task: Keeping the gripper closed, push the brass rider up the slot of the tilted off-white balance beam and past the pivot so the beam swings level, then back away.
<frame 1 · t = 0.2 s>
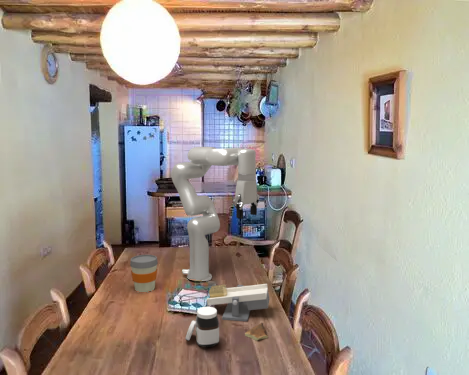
hand: (246, 216, 173), 37 cm above the table, tool pointing down, fingers open, 9 cm apart
balance stand: (237, 311, 163), on the table
shard: (255, 334, 145), on the table
beam: (238, 298, 162), point 5 cm above the table, hinge at -10.2°, touching rider
spread jar: (201, 342, 139), on the table
reusable coffee cup: (144, 289, 186), on the table
rider: (219, 296, 164), point 6 cm above the table, tilted 10°, touching beam
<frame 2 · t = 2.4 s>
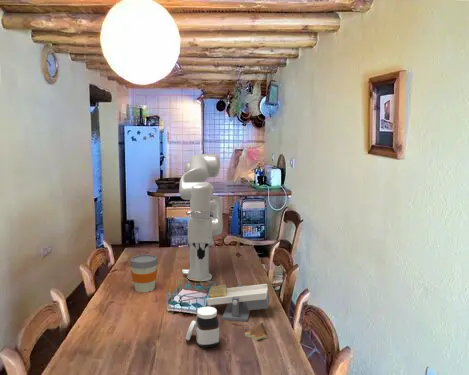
hand: (201, 258, 162), 22 cm above the table, tool pointing down, fingers closed
nothing on the table moved.
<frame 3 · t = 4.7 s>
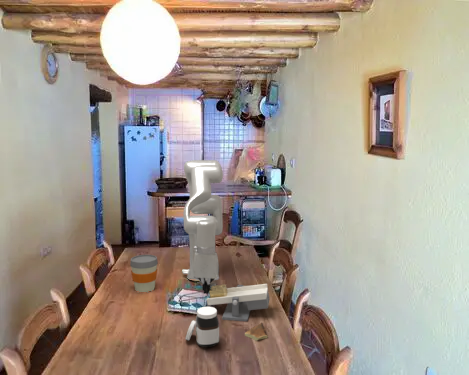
hand: (206, 292, 164), 7 cm above the table, tool pointing down, fingers closed
beam: (238, 298, 162), point 5 cm above the table, hinge at -10.2°
rider: (219, 296, 164), point 6 cm above the table, tilted 10°, touching gripper
everything else where it was.
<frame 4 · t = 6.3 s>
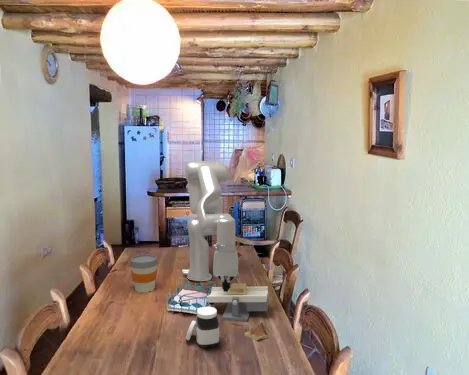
hand: (226, 290, 162), 9 cm above the table, tool pointing down, fingers closed
beam: (238, 298, 162), point 5 cm above the table, hinge at -4.5°
rider: (238, 295, 162), point 7 cm above the table, touching gripper
everything else where it was.
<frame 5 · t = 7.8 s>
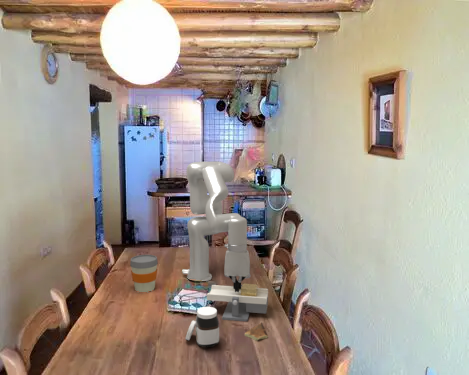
hand: (237, 290, 162), 9 cm above the table, tool pointing down, fingers closed
beam: (237, 298, 162), point 5 cm above the table, hinge at 0.3°, touching rider
rider: (249, 295, 161), point 7 cm above the table, touching beam, gripper
everything else where it was.
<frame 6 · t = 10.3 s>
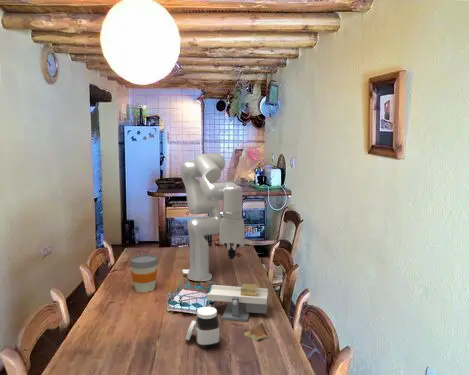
hand: (231, 258, 164), 21 cm above the table, tool pointing down, fingers closed
rider: (249, 295, 161), point 7 cm above the table, touching beam
everything else where it was.
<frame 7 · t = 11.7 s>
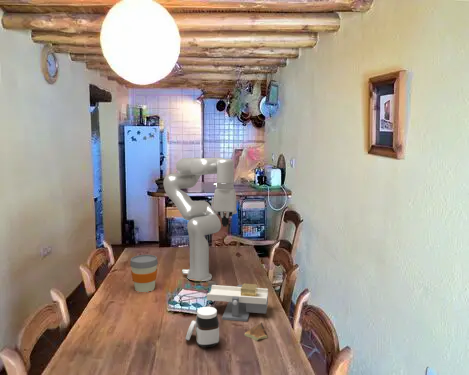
hand: (225, 225, 180), 31 cm above the table, tool pointing down, fingers closed
nothing on the table moved.
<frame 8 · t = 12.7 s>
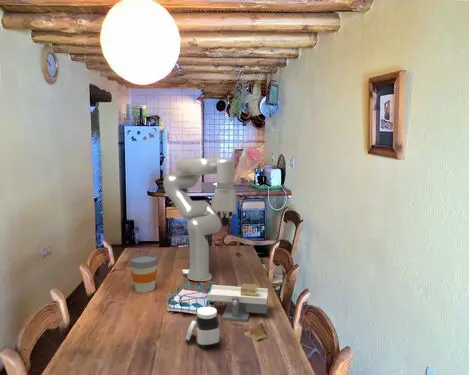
hand: (225, 225, 180), 31 cm above the table, tool pointing down, fingers closed
nothing on the table moved.
at the end: beam at +0° (first picture: -10°); rider inside the target area on the beam (0.6 cm from its centre), point 0.0 cm above the beam's base; rider tilted 0° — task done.
